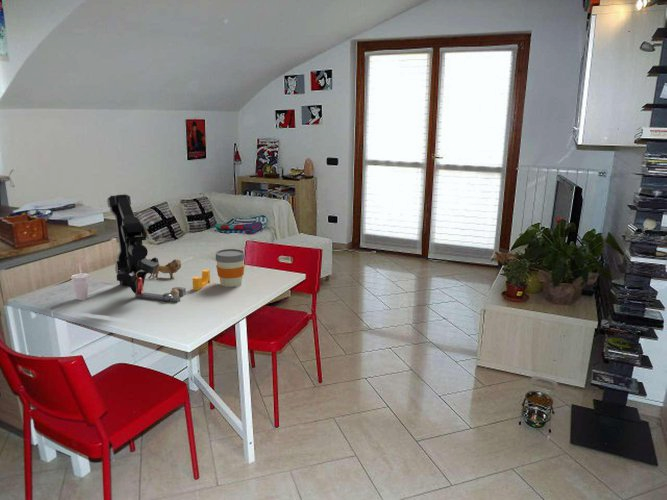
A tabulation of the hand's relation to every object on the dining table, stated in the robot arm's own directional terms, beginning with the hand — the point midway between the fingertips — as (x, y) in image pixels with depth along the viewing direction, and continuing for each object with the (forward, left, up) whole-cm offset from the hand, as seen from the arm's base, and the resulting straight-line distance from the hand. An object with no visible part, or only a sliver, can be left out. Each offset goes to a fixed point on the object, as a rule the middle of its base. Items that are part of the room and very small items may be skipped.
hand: (138, 290), depth 199 cm
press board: (+4, -1, -4) cm, 6 cm away
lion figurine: (-5, +27, -4) cm, 28 cm away
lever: (+8, +1, -3) cm, 8 cm away
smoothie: (-22, -5, -4) cm, 23 cm away
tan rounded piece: (+13, +5, -3) cm, 14 cm away
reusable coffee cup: (+27, +28, -4) cm, 39 cm away
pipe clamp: (+15, +21, -4) cm, 26 cm away
